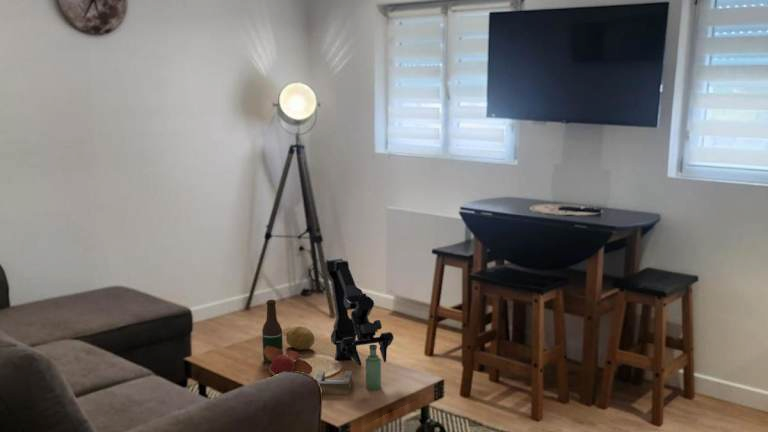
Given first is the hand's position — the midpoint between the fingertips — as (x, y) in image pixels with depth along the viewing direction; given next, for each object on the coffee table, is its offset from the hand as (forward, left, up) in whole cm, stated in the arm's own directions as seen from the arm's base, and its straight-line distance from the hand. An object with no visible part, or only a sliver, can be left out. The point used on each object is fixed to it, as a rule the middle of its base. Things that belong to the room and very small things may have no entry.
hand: (372, 363), depth 246 cm
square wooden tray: (0, -14, -8) cm, 16 cm away
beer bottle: (-28, -39, -9) cm, 49 cm away
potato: (-42, -30, -9) cm, 52 cm away
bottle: (0, 0, -8) cm, 9 cm away
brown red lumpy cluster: (-14, -31, -9) cm, 35 cm away
